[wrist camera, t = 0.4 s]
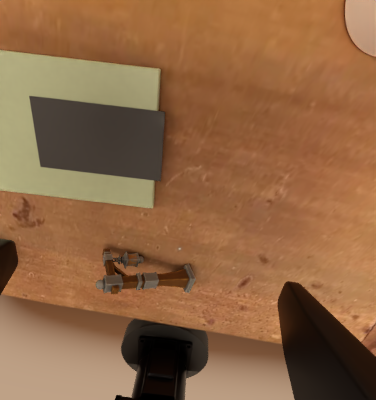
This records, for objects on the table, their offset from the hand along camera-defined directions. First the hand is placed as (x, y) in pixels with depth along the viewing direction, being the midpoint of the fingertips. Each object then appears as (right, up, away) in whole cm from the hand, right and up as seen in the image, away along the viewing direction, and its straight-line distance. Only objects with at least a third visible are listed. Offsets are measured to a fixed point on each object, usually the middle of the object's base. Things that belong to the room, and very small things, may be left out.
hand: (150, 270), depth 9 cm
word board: (-11, +7, +11) cm, 17 cm away
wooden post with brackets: (-2, -3, +16) cm, 16 cm away
